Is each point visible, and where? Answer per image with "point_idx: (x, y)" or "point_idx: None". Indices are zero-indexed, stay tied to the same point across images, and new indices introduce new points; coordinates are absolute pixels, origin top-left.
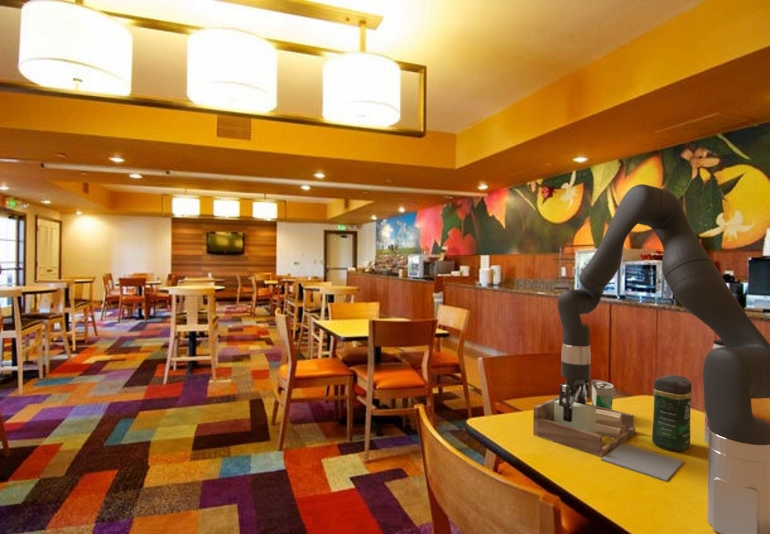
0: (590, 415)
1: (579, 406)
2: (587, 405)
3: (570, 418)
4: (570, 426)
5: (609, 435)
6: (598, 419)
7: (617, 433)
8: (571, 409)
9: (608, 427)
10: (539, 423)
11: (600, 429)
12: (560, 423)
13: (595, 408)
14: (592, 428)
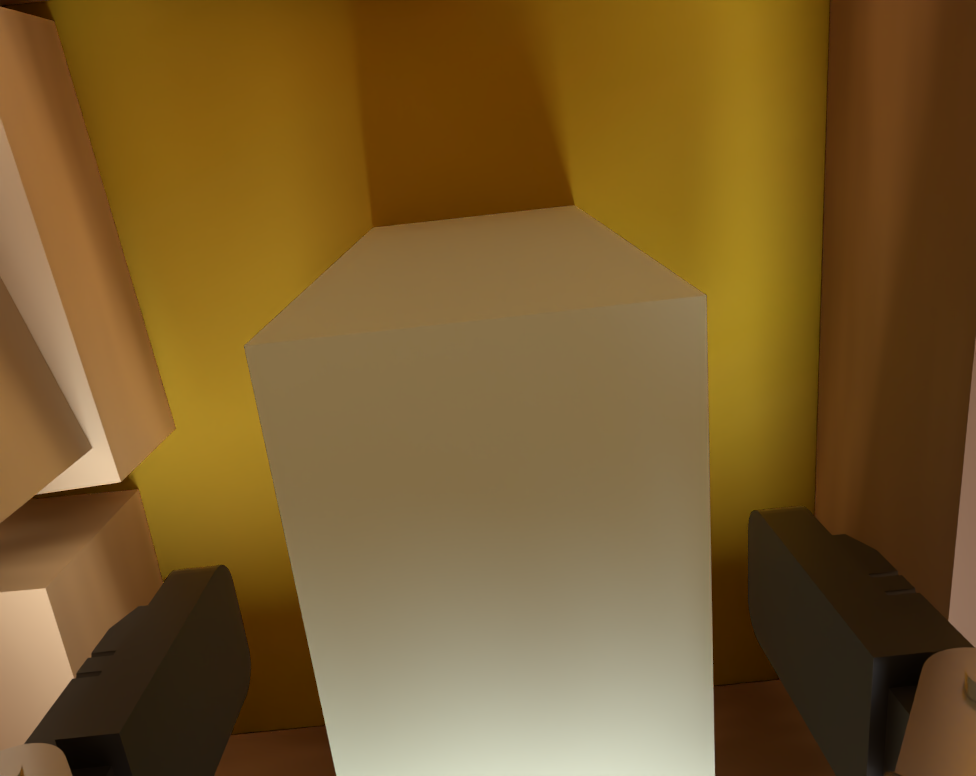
0: (628, 273)
1: (579, 642)
2: (304, 572)
3: (829, 538)
4: (972, 406)
5: (86, 161)
6: (2, 387)
7: (10, 36)
8: (916, 645)
9: (27, 185)
10: None
11: (100, 299)
12: (951, 572)
13: (287, 337)
14: (483, 240)
